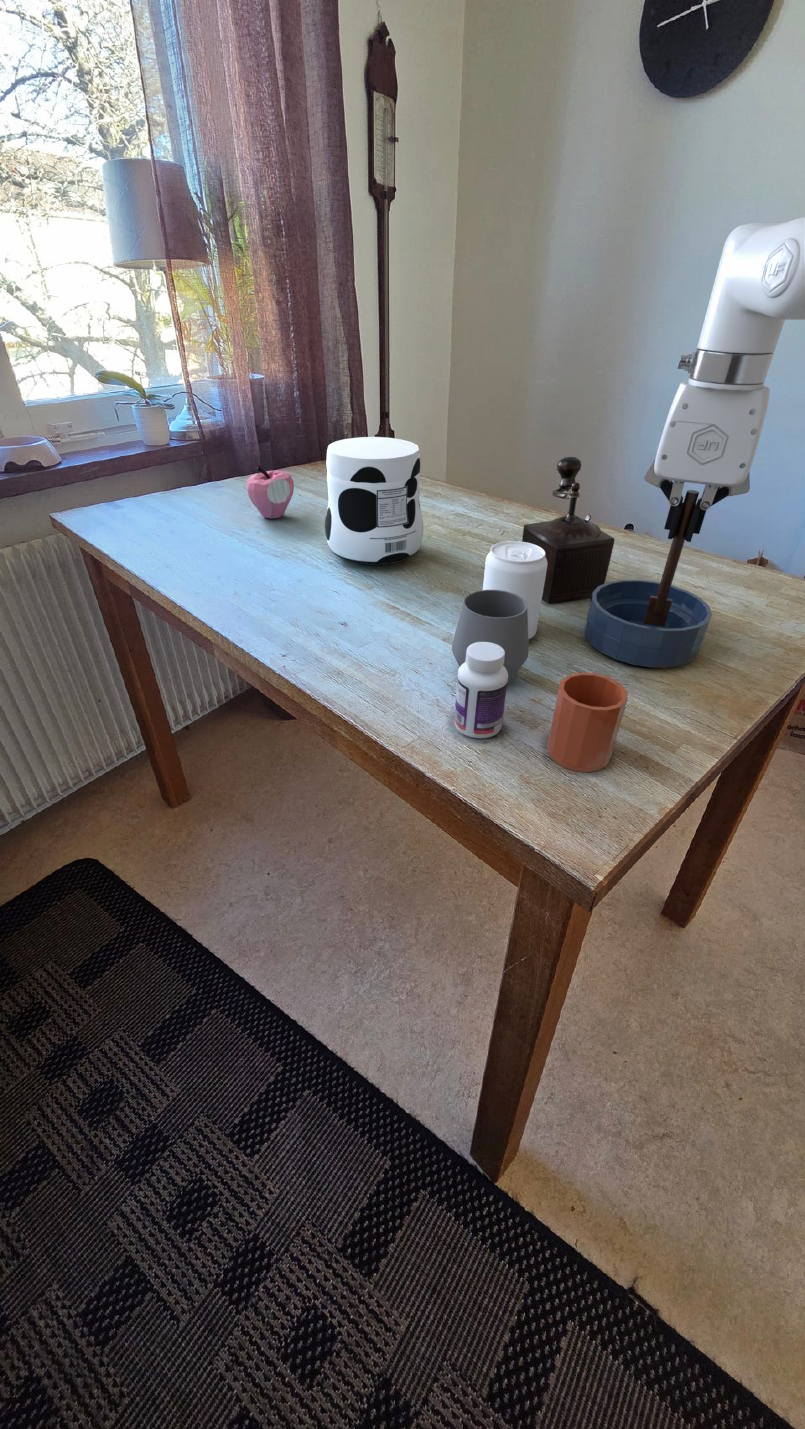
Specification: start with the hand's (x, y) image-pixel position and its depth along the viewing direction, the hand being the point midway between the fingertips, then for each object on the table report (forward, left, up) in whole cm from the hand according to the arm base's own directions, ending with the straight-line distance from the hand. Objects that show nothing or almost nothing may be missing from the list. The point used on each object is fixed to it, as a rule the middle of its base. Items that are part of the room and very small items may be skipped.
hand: (679, 536), depth 76 cm
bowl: (0, +2, -15) cm, 15 cm away
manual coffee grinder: (+22, +2, -15) cm, 27 cm away
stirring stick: (0, 0, -13) cm, 13 cm away
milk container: (+43, +26, -15) cm, 52 cm away
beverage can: (+9, +18, -15) cm, 25 cm away
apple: (+69, +39, -15) cm, 81 cm away
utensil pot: (-17, +24, -15) cm, 33 cm away
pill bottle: (-9, +32, -15) cm, 36 cm away
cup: (0, +26, -15) cm, 30 cm away
